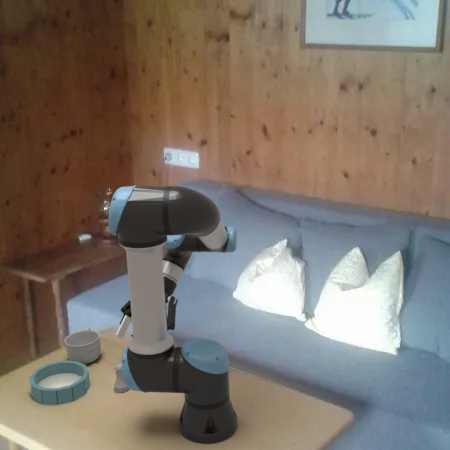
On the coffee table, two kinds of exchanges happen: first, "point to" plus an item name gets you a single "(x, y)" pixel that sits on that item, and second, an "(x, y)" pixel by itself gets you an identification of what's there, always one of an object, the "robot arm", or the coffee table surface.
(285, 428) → the coffee table surface
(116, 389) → the rook chess piece
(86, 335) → the teacup
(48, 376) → the dish
